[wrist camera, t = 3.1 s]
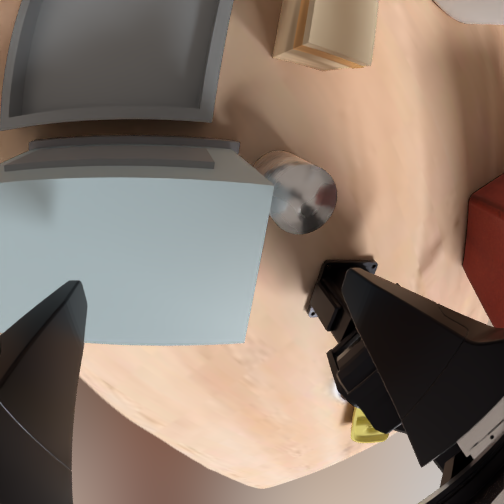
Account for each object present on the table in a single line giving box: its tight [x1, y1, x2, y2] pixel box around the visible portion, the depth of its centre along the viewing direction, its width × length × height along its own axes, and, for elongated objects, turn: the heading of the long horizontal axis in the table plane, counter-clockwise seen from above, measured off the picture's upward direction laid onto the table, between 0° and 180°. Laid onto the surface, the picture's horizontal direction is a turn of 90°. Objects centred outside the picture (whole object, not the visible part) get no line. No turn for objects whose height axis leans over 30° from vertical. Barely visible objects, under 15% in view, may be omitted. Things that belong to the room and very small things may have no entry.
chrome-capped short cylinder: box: [253, 151, 337, 234], centre depth 19 cm, size 4×4×5 cm
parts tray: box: [0, 0, 234, 131], centre depth 11 cm, size 15×17×2 cm
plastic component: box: [351, 407, 389, 443], centre depth 46 cm, size 20×7×10 cm
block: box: [272, 0, 379, 71], centre depth 13 cm, size 4×6×6 cm
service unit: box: [0, 135, 274, 346], centre depth 14 cm, size 15×9×10 cm, turn 81°
